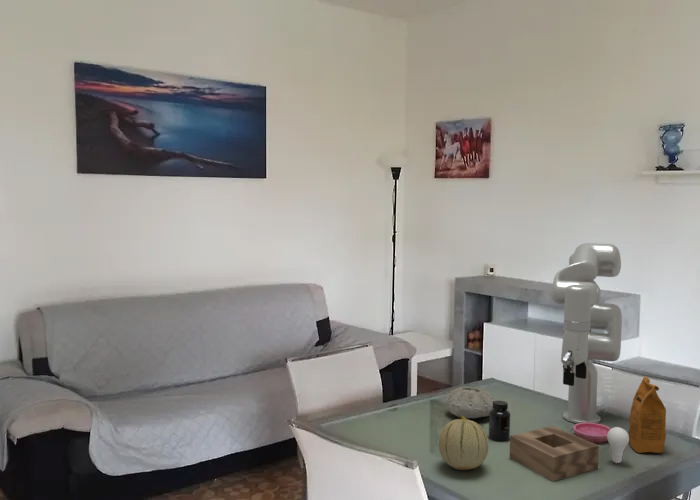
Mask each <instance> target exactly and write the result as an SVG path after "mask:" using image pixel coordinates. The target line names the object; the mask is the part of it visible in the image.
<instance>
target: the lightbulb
mask: <svg viewBox="0 0 700 500" xmlns="http://www.w3.org/2000/svg"><path fill="white" fill-rule="evenodd" d="M607 440H608V445H609V446H610V450H611V455H612V456H611V457H612V459H611V460H612V462H614V463H615V464H617V463H618V464H619V463H621V462H623V461H622V459H623V455H624V451H625V448H626V447H627V445H628V444H629V432H627V431H626V430H625V429H624V428H622V427H619V426H615V427H612V428H611V429H610V430H609V432H608V434H607Z"/></svg>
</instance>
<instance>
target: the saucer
mask: <svg viewBox="0 0 700 500" xmlns="http://www.w3.org/2000/svg"><path fill="white" fill-rule="evenodd" d="M610 429H612V428H611V427H609V426H608V425H605V424H602V423H579V424H577V423H575V424H574V425H573V429H572V430H573V432H574V435H576V436H578V437H580V438H583V439H585V440H587V441H590V442H592V443H594V444H596V443H597V444H600V443H606V442H607V441H608V440H607V434H608V432H609V430H610Z"/></svg>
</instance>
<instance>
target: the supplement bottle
mask: <svg viewBox="0 0 700 500" xmlns="http://www.w3.org/2000/svg"><path fill="white" fill-rule="evenodd" d="M508 406H509V405H508V402H507V401H504V400H495V401H493V406H492V408H493V409H492V410H491V411H490V412H489V416H488V417H489V418H488V437H489V439H490V440H493V441H494V442H495V441H496V442H506V441H508V440H510V436H511V412H510V411H509V410H508V409H509V407H508Z"/></svg>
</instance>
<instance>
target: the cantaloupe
mask: <svg viewBox="0 0 700 500" xmlns="http://www.w3.org/2000/svg"><path fill="white" fill-rule="evenodd" d="M458 418H459V419H458ZM458 418H457V419H452V420H451V421H450V420H449V422H447V423H446V424H445V425H444V427H443V428H442V429H441V432H440V434H439V439H438V448H439V449H438V451H439V454H440V456H441V458H442V459H443V461H444V462H445V463H446V464H448V465H449V466H450V467H452V468H453V469H455V470H459V471H467V470H473V469H476V468H478V467H480V466H481V465H482V464H483V463H484V461H485V460H486V458H487V455H488V452H489V439H488V436H487V433H486V432H485V430H484V428H483V427H482V426H481V425H480V424H478V423H477V422H475V421H473V420H470V419H466V418H465V417H464V416H462V415H460V416H459V417H458Z"/></svg>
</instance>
